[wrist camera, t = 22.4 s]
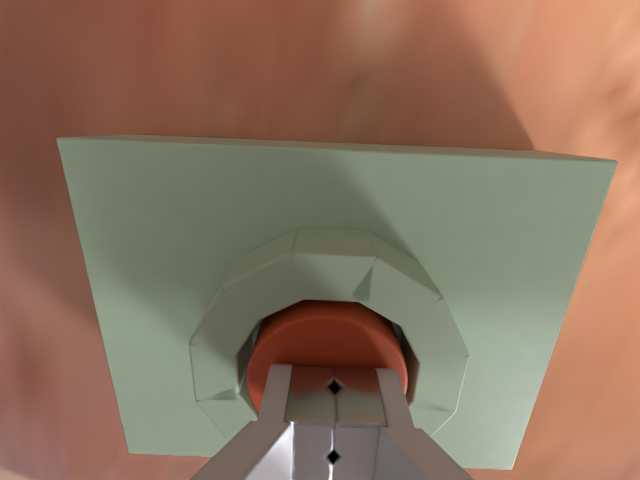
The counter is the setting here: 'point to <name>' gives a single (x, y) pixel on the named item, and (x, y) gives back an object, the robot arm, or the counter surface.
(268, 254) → the button base
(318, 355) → the release button
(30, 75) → the counter surface
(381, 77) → the counter surface
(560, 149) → the counter surface
